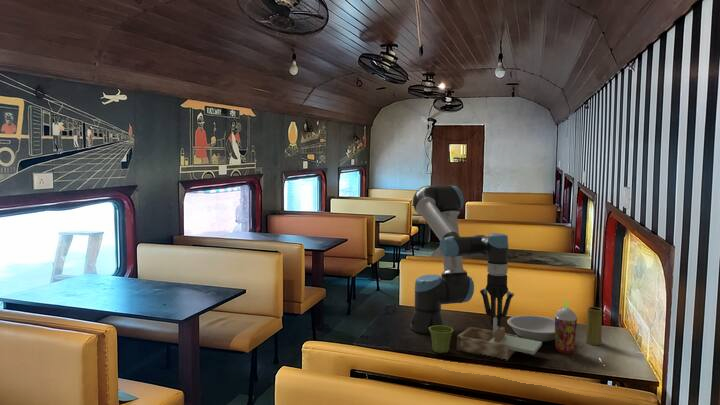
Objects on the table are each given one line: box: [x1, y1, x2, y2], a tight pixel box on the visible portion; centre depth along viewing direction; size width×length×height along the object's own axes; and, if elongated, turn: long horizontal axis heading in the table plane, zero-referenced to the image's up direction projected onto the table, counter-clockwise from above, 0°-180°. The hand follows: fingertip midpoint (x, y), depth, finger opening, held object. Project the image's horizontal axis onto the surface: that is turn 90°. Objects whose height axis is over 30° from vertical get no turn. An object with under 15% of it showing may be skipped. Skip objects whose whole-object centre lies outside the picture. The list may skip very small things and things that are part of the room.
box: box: [456, 326, 519, 361], centre depth 205 cm, size 20×14×6 cm
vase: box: [585, 306, 603, 346], centre depth 213 cm, size 6×6×14 cm
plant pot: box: [429, 325, 454, 354], centre depth 203 cm, size 9×9×9 cm
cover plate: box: [489, 326, 543, 355], centre depth 199 cm, size 17×12×5 cm
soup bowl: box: [506, 314, 555, 343], centre depth 218 cm, size 24×24×7 cm
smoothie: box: [553, 300, 578, 355], centre depth 203 cm, size 8×8×20 cm
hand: (495, 333), depth 202 cm, fingers closed
